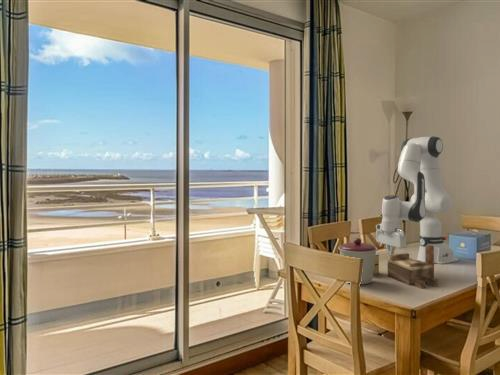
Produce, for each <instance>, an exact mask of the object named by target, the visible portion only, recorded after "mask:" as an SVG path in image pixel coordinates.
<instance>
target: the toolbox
mask: <svg viewBox="0 0 500 375" xmlns="http://www.w3.org/2000/svg"><path fill="white" fill-rule="evenodd" d="M387 277H388V278H390V279H393V280H396V281H398V282H401V283H403V284H405V285H407V286H412V285H414V287H416V288H419V289H425V286H426V284H427V285H428V286H432V287H434V288H435V287H438V286H439V285H438V284H439V283H438V282H439V279H437V278H435V277H434V278H431V268H427V269H419V270H409V269H407V268H404V267H401V266H398V265H395V264H392V263H389V262H388V261H387Z"/></svg>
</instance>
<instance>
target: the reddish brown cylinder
mask: <svg viewBox="0 0 500 375" xmlns="http://www.w3.org/2000/svg"><path fill="white" fill-rule="evenodd" d="M425 262H429V265H432V266H433V268H431V278H434V279H435V263H434V246H432V245H426V246H425Z"/></svg>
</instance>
